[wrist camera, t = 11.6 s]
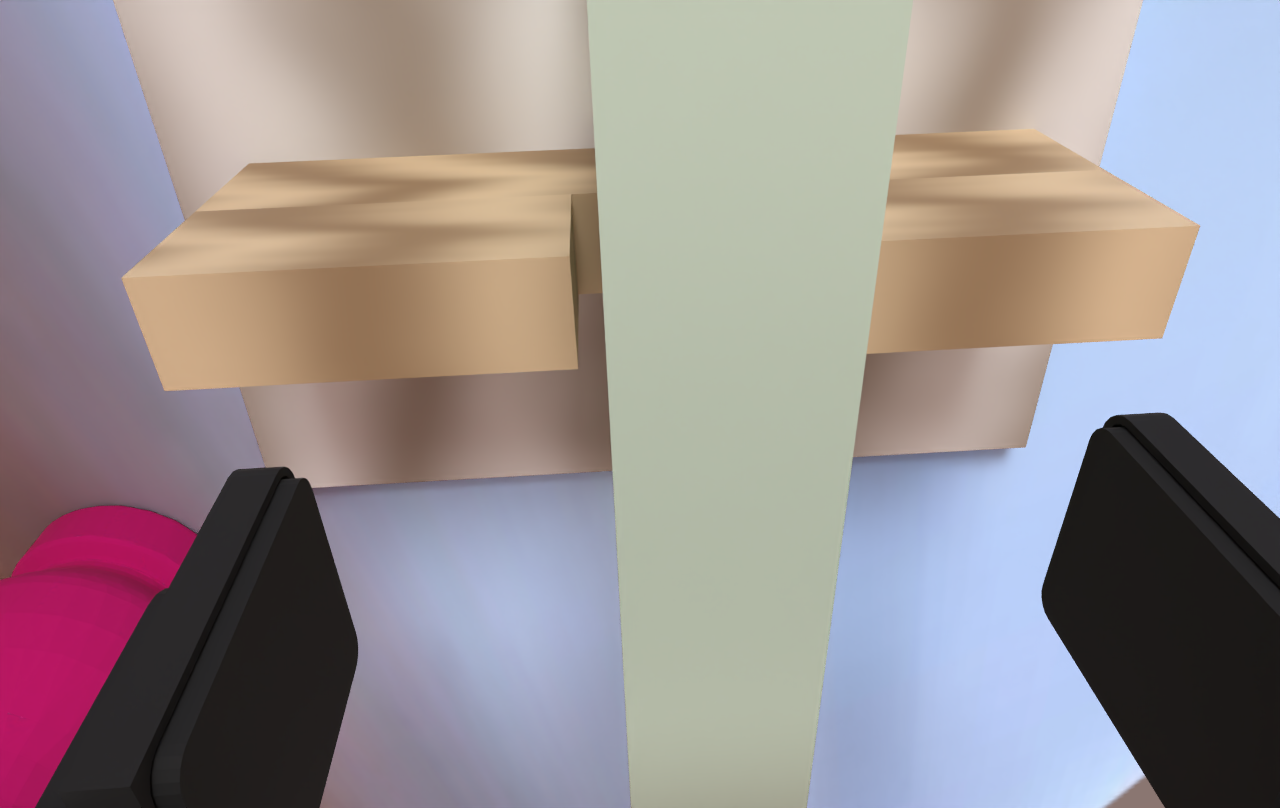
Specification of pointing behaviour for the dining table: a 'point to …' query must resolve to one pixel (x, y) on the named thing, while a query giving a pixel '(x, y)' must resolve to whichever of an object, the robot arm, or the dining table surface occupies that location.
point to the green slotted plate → (735, 363)
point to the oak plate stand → (594, 228)
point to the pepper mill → (72, 630)
